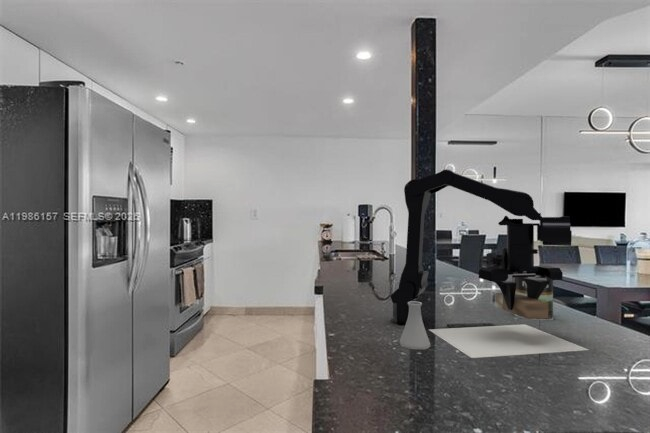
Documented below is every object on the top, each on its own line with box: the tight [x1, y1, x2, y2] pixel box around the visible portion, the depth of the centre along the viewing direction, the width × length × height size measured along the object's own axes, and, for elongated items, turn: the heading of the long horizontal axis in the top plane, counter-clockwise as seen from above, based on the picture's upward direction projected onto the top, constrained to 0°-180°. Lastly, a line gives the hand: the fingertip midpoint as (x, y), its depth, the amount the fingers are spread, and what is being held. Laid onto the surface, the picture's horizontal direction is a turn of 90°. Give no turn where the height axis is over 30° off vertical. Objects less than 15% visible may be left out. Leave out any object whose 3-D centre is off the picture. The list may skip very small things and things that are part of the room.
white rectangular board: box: [428, 323, 589, 359], centre depth 88 cm, size 28×20×1 cm
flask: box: [399, 300, 432, 350], centre depth 85 cm, size 7×7×10 cm
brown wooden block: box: [494, 292, 548, 320], centre depth 89 cm, size 12×5×4 cm, turn 10°
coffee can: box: [513, 277, 554, 321], centre depth 110 cm, size 10×10×14 cm
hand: (520, 309), depth 89 cm, fingers closed on brown wooden block, 5 cm apart
